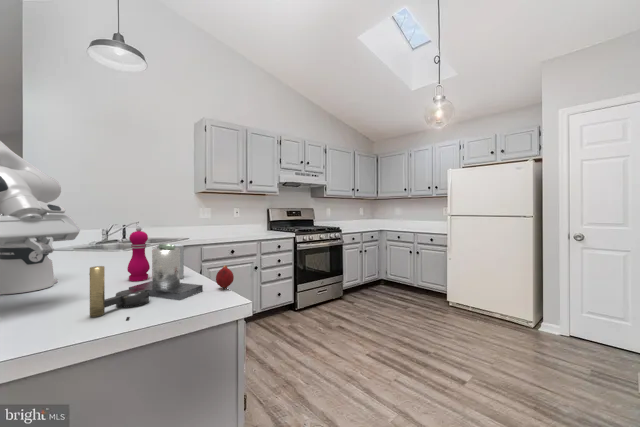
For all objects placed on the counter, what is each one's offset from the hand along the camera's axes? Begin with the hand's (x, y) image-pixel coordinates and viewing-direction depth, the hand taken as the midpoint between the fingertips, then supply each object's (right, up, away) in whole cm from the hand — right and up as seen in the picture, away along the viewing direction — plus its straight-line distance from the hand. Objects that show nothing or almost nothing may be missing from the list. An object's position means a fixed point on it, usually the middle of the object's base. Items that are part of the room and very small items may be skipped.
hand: (46, 252), depth 78 cm
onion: (+40, -16, +23) cm, 48 cm away
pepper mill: (+4, -15, +34) cm, 37 cm away
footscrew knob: (+18, -15, +3) cm, 24 cm away
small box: (+15, -15, +36) cm, 41 cm away
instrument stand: (+20, -15, +9) cm, 27 cm away
